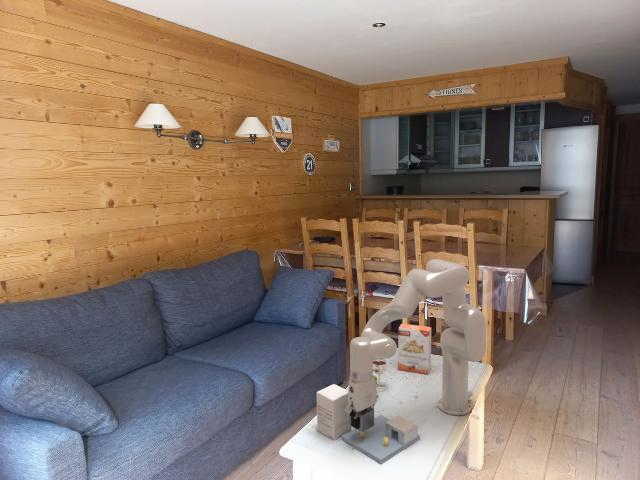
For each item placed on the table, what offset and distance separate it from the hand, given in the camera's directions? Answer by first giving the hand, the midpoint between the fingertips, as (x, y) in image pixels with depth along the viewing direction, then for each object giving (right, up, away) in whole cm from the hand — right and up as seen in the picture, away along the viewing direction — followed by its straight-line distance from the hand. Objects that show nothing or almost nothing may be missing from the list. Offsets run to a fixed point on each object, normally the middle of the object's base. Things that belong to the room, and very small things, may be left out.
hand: (361, 423), depth 158 cm
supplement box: (-9, -6, +7) cm, 13 cm away
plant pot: (+4, -2, +29) cm, 30 cm away
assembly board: (+7, -6, +1) cm, 9 cm away
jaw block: (0, -1, 0) cm, 1 cm away
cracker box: (+29, +3, +54) cm, 62 cm away
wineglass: (+11, 0, +37) cm, 39 cm away
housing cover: (+14, -4, 0) cm, 14 cm away
